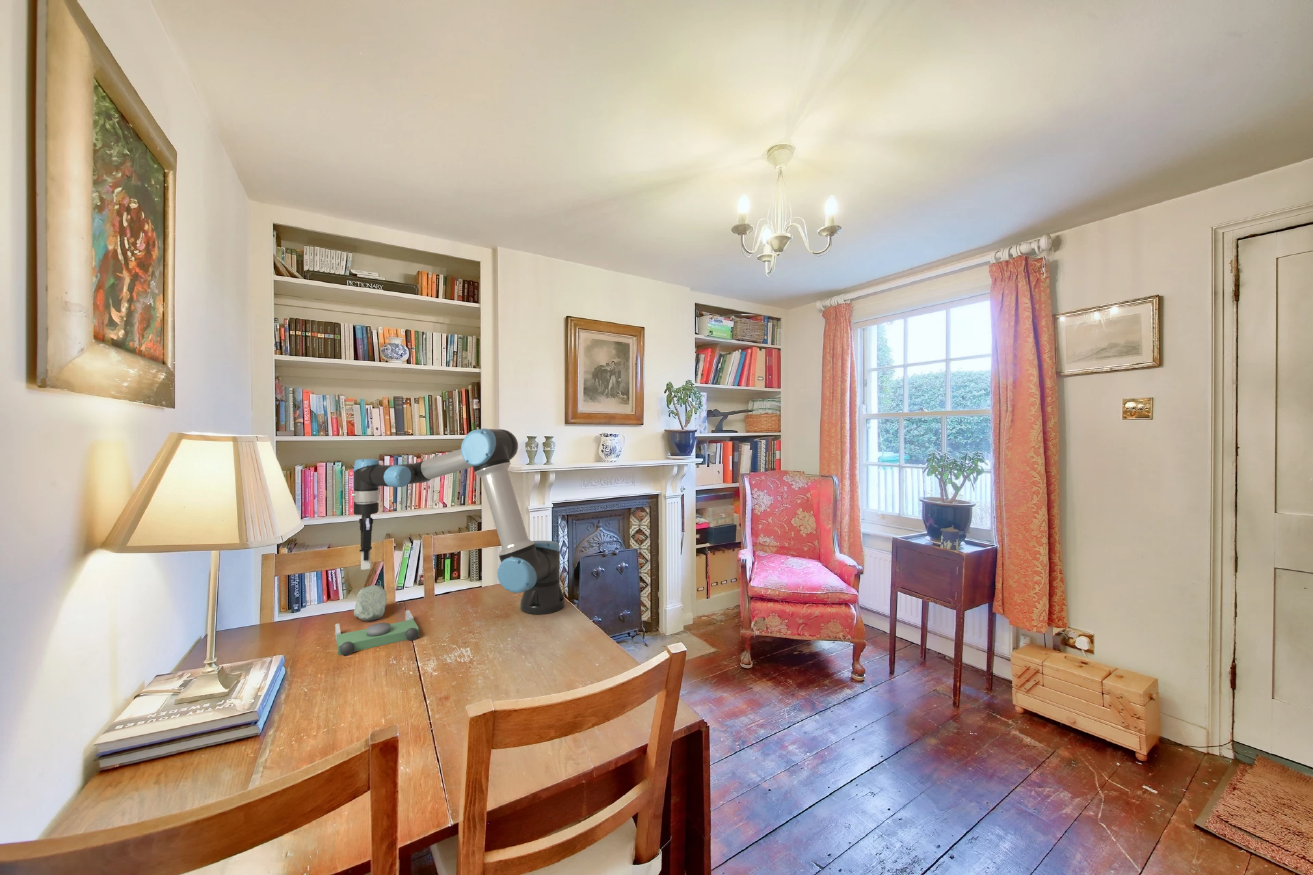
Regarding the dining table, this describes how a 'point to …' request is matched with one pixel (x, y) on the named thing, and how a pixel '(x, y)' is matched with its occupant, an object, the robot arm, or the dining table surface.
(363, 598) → the decorative stone
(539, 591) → the robot arm
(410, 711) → the dining table surface
